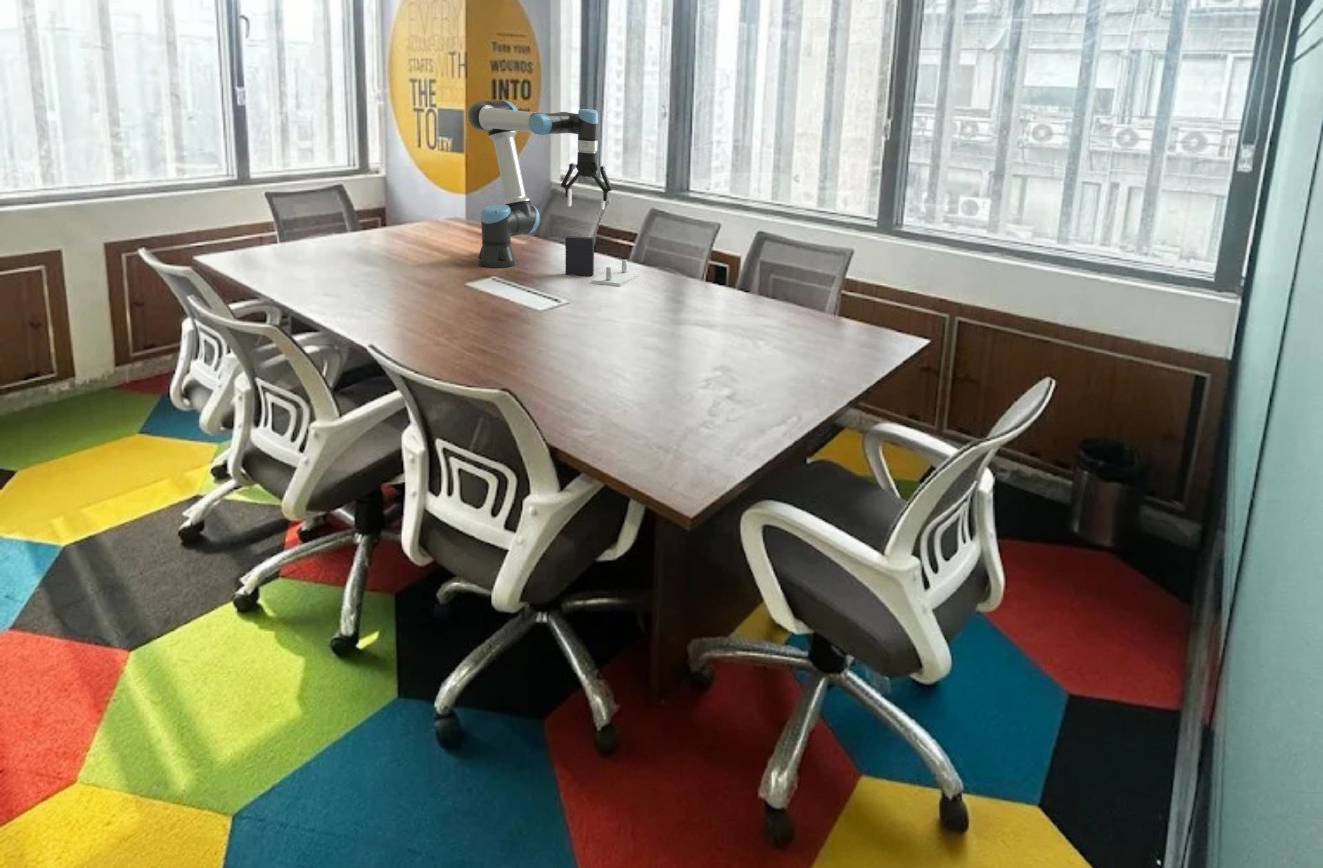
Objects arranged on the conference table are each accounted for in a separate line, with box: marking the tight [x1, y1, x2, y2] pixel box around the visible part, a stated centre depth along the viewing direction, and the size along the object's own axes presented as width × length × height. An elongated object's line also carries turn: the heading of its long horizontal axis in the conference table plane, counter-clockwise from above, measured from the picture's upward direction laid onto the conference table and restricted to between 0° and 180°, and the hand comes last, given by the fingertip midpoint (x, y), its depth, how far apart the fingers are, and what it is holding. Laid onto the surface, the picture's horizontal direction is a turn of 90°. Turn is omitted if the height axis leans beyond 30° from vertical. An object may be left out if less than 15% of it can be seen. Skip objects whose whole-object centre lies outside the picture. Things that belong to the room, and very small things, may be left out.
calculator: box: [564, 235, 595, 277], centre depth 382 cm, size 11×4×15 cm, turn 84°
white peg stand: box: [590, 259, 642, 287], centre depth 378 cm, size 12×22×6 cm, turn 160°
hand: (586, 207), depth 376 cm, fingers open, 13 cm apart
